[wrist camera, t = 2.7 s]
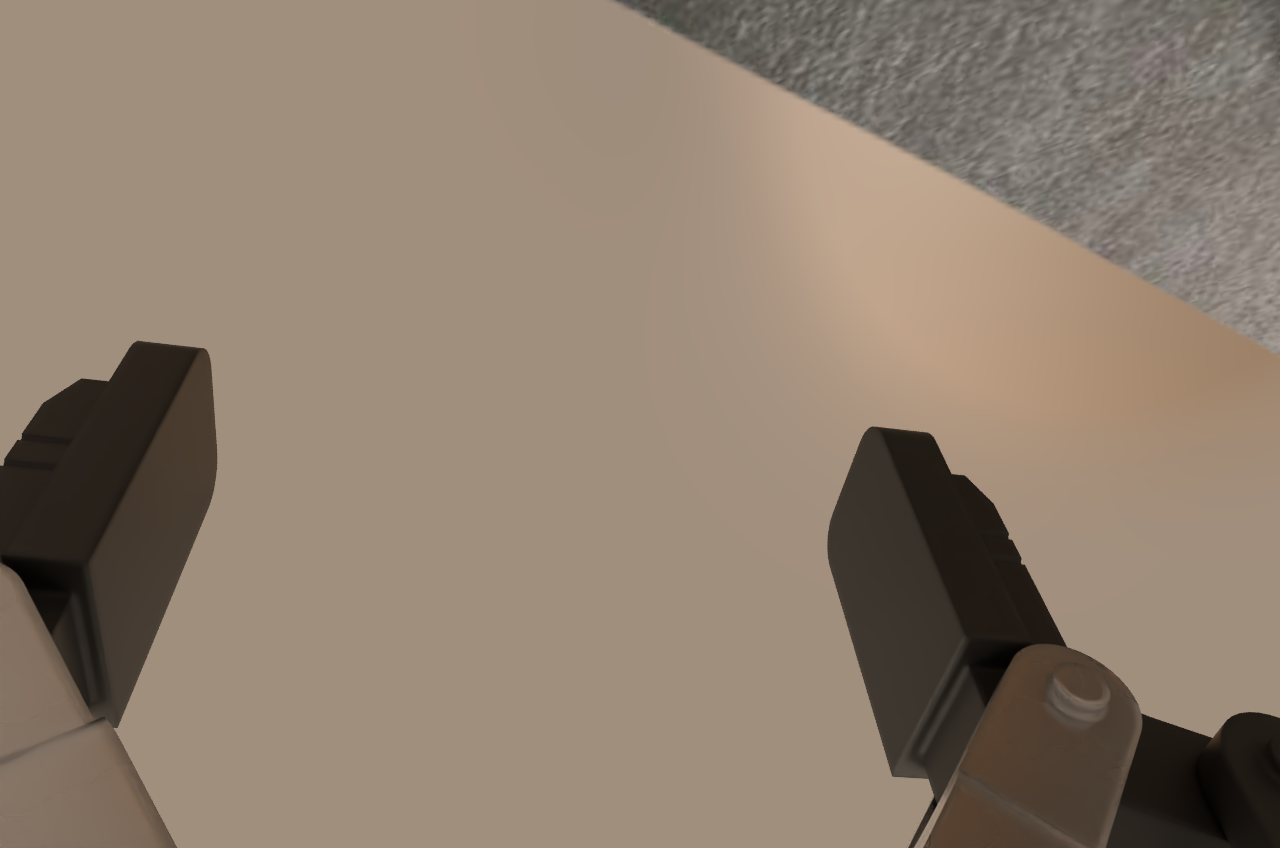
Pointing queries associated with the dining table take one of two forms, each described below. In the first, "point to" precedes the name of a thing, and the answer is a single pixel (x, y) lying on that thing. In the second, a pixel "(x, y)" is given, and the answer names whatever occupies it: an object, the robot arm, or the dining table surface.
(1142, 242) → the dining table surface
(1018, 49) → the dining table surface
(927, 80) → the dining table surface
